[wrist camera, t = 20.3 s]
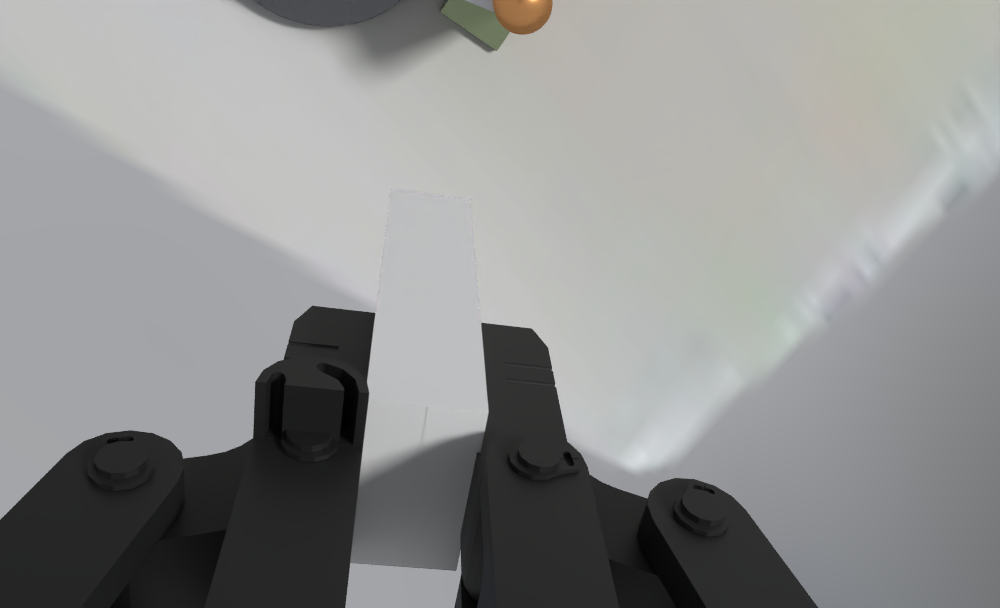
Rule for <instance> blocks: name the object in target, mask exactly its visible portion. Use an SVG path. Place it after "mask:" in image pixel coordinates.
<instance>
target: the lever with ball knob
mask: <svg viewBox="0 0 1000 608" xmlns="http://www.w3.org/2000/svg"><path fill="white" fill-rule="evenodd" d="M465 1H468V2H470V3H473V4H475V5H478V6H480V7H483V8H485V9H488V10H490V11H493V12H495V14H496V17H497V19H498V21H499V22H500V24H501V25H502V26H503V27H504V28H505V29H507V30H508V31H510V32H512V33H515V34H530V33H533V32H535V31H537V30H538V29H540V28H541V27H542V26H543V25H544V24H545V23H546V22H547V20H548V18H549V16H550V14H551V10H552V0H465Z"/></svg>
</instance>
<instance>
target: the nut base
mask: <svg viewBox="0 0 1000 608" xmlns="http://www.w3.org/2000/svg"><path fill="white" fill-rule="evenodd" d="M254 1H255V2H257V3H258V4H260V5H261V6H263V7H264V8H266V9H268V10H270V11H272V12H274V13H276V14H278V15H280V16H282V17H285V18H287V19H290V20H293V21H296V22H300V23H305V24H309V25H317V26H343V25H348V24H354V23H358V22H361V21H364V20H367V19H370V18H373V17H375V16H377V15H379V14H381V13H383V12H385V11H386V10H388V9H389V8H391V7H392V6H394V5H395V4H396V3H398V2H399V1H400V0H254ZM441 13H442V14H444V15H445V16H447V17H448V18H450V19H451V20H452V21H454V22H455V23H457V24H458V25H460V26H461V27H463V28H464V29H466V30H467V31H468V32H470V33H471V34H473V35H474V36H476V37H477V38H479V39H480V40H482V41H483V42H484V43H486V44H487V45H489V46H490V47H492V48H493V49H495V50H496V51H497V50H498V49H499V47H500V46H501V44H502V43H503V41H504V40H505V38H506V37H507V35H508V34H509V32H510V31H508V30H507V29H505V28H504V27H503V26H502V25H501V24H500V22H499V21H498V19H497V17H496V14H495V12H493V11H490V10H488V9H485V8H483V7H480V6H478V5H475V4H473V3H470V2H468V1H465V0H447V1H446V3H445V5H444V6H443V8H442V9H441Z"/></svg>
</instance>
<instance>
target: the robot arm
mask: <svg viewBox="0 0 1000 608" xmlns="http://www.w3.org/2000/svg"><path fill="white" fill-rule="evenodd" d="M551 370H552V365H551V361H550V356H549V351H548V347H547V346H546V345H545V344H544V342H543V341H542V340H541V339H540V338H539V337H538V335H537V334H536V333H535V332H534V331H533V329H530V328H521V327H513V326H504V325H495V324H486V323H481V316H480V304H479V293H478V281H477V269H476V258H475V246H474V234H473V222H472V211H471V199H467V198H460V197H452V196H445V195H437V194H430V193H422V192H415V191H407V190H400V189H393V188H391V190H390V198H389V206H388V214H387V223H386V231H385V239H384V247H383V255H382V263H381V272H380V280H379V288H378V296H377V304H376V313H370V312H362V311H353V310H343V309H335V308H326V307H317V306H312V307H310V308H309V309H308V310H307V311H306V312H305V313H304V314H303V315H301V316H300V317H299V318H298V319H297V320H295V321H294V324H293V328H292V331H291V335H290V339H289V344H288V345H287V349H286V353H285V356H284V360H282V361H278V362H277V363H275V364H273V365H271V366H270V367H268V368H266V369H265V370H263V372H262V373H261V375H260V376H259V378H258V379H257V380H256V382H255V407H254V433H253V434H254V435H253V439H251V440H250V441H248V442H246V443H245V444H243V445H242V446H239V447H237V448H235V449H232V450H229V451H227V452H223V453H218V454H213V455H208V456H200V457H193V458H186V459H183V457H182V453H181V451H180V450H179V449H178V448H177V447H176V446H175V445H174V444H173V443H172V442H171V441H169V440H167V439H165V438H163V437H160V436H158V435H155V434H153V433H146V432H138V431H123V432H113V433H106V434H103V435H100V436H97V437H95V438H92V439H89V440H86V441H84V442H82V443H81V444H80V445H78V446H77V447H75V448H74V449H72V450H71V451H70V452H68V453H67V454H66V455H65V456H64V457H63V458H62V459H61V460H60V461H59V462H58V463H57V464H56V465H55V466H54V467H53V468H52V469H51V470H50V471H49V472H48V473H47V474H46V475H45V476H44V477H43V478H42V479H41V480H40V481H39V482H38V483H37V484H36V485H35V486H34V487H33V488H32V489H31V490H30V491H29V492H28V493H27V494H26V495H25V496H24V497H23V498H22V499H21V500H20V501H19V502H18V503H17V504H16V505H15V506H14V507H13V508H12V509H11V510H10V511H9V512H8V513H7V514H6V515H5V516H4V517H3V518H2V519H1V520H0V608H345V604H346V595H347V586H348V577H349V568H350V563H358V564H371V565H385V566H386V565H387V566H399V567H413V568H427V569H441V570H454V571H456V569H457V564H458V559H459V554H460V550H461V571H462V574H461V579H460V584H459V589H458V593H457V598H456V603H455V608H818V607H817V606H816V604H815V603H814V602H813V600H812V599H811V597H810V596H809V595H808V593H807V592H806V591H805V589H804V588H803V587H802V585H801V584H800V583H799V581H798V580H797V579H796V577H795V576H794V575H793V573H792V572H791V571H790V569H789V568H788V566H787V565H786V564H785V562H784V561H783V560H782V558H781V557H780V556H779V554H778V553H777V552H776V550H775V549H774V548H773V546H772V545H771V543H770V542H769V541H768V539H767V538H766V537H765V535H764V534H763V533H762V532H761V530H760V529H759V527H758V526H757V525H756V523H755V522H754V521H753V519H752V518H751V517H750V515H749V514H748V513H747V511H746V510H745V509H744V508H743V507H742V506H741V505H740V504H739V503H738V502H737V501H736V500H735V499H734V498H733V497H732V496H731V495H729V494H727V493H725V492H724V491H722V490H720V489H719V488H717V487H715V486H713V485H710V484H707V483H704V482H701V481H698V480H695V479H680V478H674V479H671V480H667V481H664V482H660V483H659V484H658V485H657V486H656V487H655V488H653V490H651V491H650V494H649V497H648V499H647V498H644V497H641V496H638V495H635V494H631V493H629V492H625V491H622V490H619V489H617V488H614V487H612V486H609V485H607V484H604V483H602V482H601V481H599V480H597V479H596V478H594V477H592V476H591V475H589V471H588V467H587V465H586V463H585V461H584V459H583V457H582V455H581V454H580V453H579V452H578V451H577V450H576V449H575V448H574V447H573V446H572V445H570V444H569V443H568V442H567V439H566V434H565V429H564V424H563V419H562V414H561V409H560V404H559V400H558V395H557V390H556V387H555V380H554V375H553V371H551Z"/></svg>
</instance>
